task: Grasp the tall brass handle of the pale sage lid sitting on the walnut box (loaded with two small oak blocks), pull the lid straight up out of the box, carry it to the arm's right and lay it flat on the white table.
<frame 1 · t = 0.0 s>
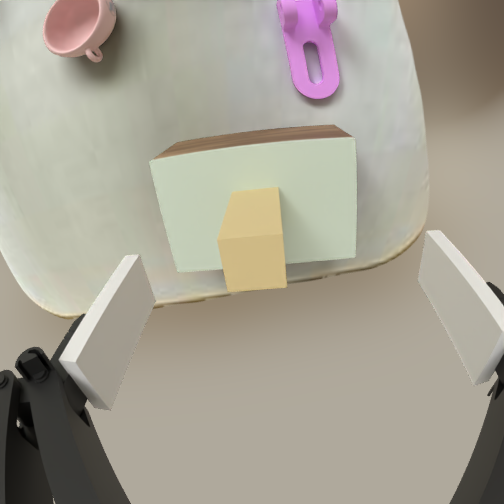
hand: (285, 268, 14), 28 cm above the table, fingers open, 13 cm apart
box: (260, 179, 40), on the table
bracket: (309, 49, 32), on the table
mug: (96, 30, 30), on the table
lid: (258, 201, 33), point 8 cm above the table, touching box
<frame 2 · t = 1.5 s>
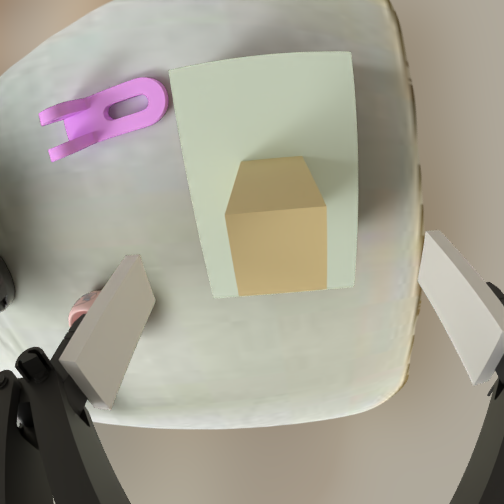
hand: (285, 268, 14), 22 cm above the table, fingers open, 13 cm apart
bracket: (116, 111, 30), on the table
mug: (115, 305, 45), on the table
lid: (273, 177, 26), point 8 cm above the table, touching box
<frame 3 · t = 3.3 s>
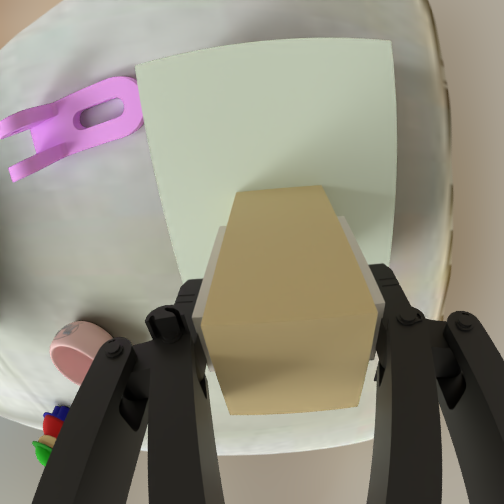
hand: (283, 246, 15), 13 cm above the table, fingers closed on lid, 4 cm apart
bracket: (89, 117, 24), on the table
mug: (100, 336, 39), on the table
toy: (67, 411, 53), on the table
lid: (280, 209, 20), point 8 cm above the table, touching box, gripper
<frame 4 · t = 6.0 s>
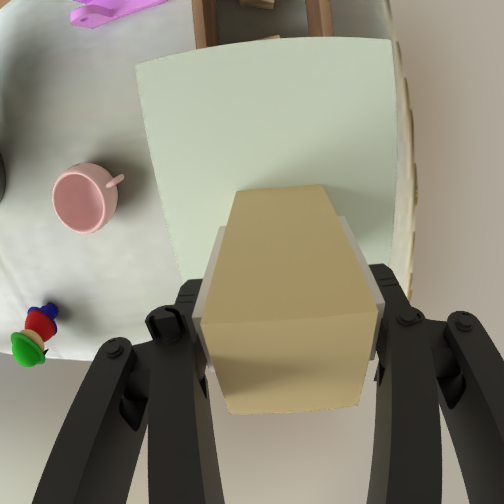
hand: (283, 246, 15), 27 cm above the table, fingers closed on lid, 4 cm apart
box: (262, 24, 31), on the table
mug: (102, 185, 42), on the table
toy: (52, 312, 57), on the table
lid: (280, 208, 19), point 22 cm above the table, touching gripper
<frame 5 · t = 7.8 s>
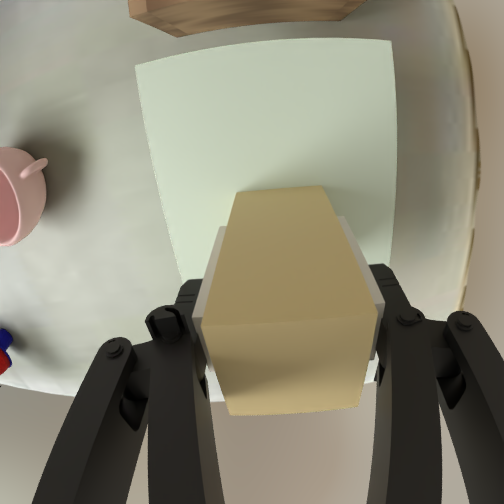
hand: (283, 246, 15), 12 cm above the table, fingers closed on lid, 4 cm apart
mug: (30, 178, 27), on the table
toy: (7, 339, 41), on the table
lid: (280, 209, 20), point 7 cm above the table, touching gripper
when the fingers open (7 cm above the table, at t = 9.2 s): lid drops 3 cm, on the table.
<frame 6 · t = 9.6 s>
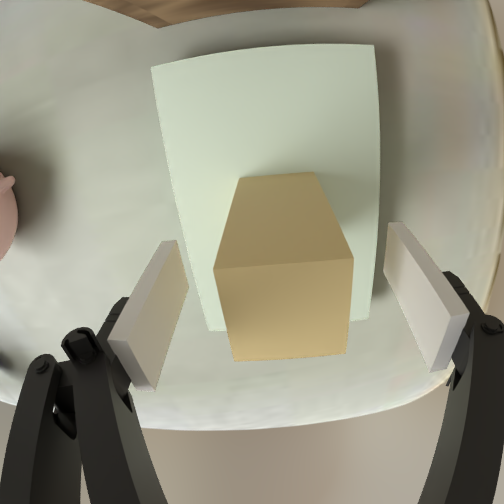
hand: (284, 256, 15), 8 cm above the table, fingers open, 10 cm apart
mug: (2, 196, 22), on the table
lid: (278, 195, 22), on the table
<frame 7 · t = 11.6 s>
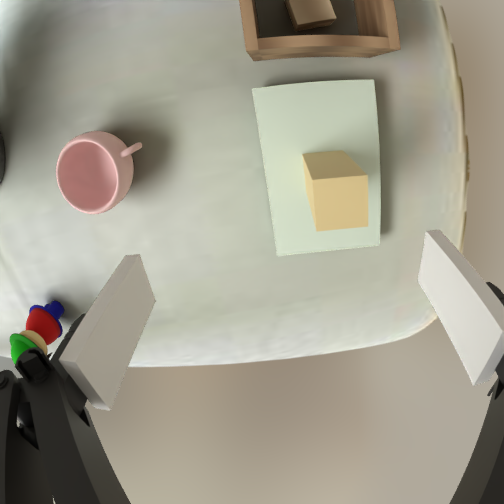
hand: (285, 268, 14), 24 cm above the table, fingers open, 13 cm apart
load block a: (307, 13, 26), resting in box
mug: (115, 159, 36), on the table
toy: (57, 311, 51), on the table
lid: (321, 166, 35), on the table
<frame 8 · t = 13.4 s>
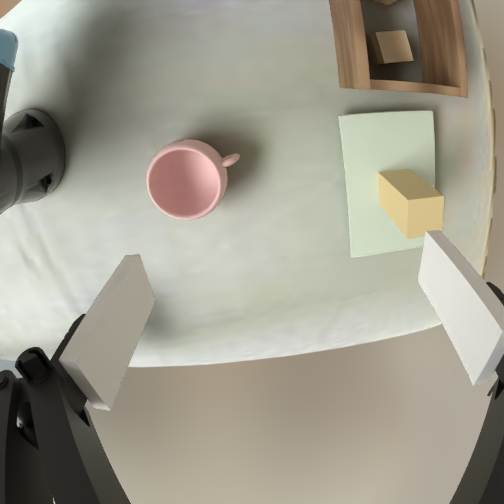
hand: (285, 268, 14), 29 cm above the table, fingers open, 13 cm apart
box: (380, 17, 29), on the table
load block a: (383, 49, 31), resting in box
mug: (200, 167, 41), on the table
lid: (387, 180, 40), on the table
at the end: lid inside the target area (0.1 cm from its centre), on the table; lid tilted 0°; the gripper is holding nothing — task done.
